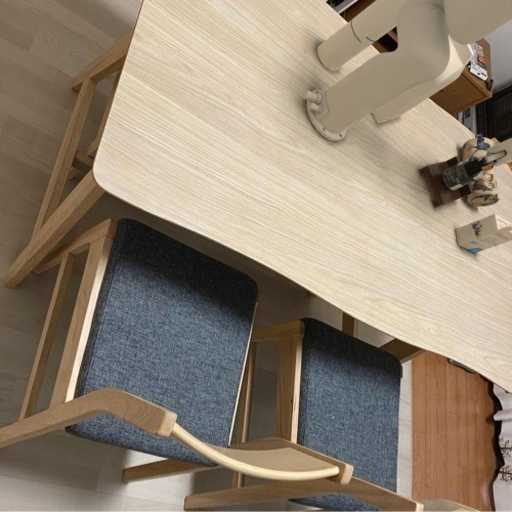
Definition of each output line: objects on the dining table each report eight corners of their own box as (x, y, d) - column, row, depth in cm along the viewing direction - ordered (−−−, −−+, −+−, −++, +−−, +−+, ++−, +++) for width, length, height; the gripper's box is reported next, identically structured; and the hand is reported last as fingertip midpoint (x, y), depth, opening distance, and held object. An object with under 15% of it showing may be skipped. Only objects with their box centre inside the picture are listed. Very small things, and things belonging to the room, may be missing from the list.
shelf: (434, 208, 151) (454, 199, 146) (418, 170, 151) (437, 160, 147) (454, 201, 159) (473, 192, 155) (438, 164, 160) (457, 155, 156)
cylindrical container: (338, 75, 140) (424, 14, 123) (317, 62, 136) (403, -4, 119) (337, 53, 143) (420, -11, 126) (316, 39, 139) (400, -28, 122)
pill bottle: (455, 194, 152) (495, 177, 144) (442, 183, 149) (481, 165, 141) (455, 177, 155) (493, 159, 147) (441, 166, 152) (480, 147, 144)
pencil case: (455, 142, 171) (485, 127, 164) (471, 155, 176) (501, 141, 169) (461, 204, 161) (493, 190, 154) (478, 215, 166) (510, 203, 159)
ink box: (472, 237, 159) (523, 218, 149) (475, 253, 157) (526, 235, 147) (454, 228, 154) (506, 208, 144) (457, 245, 152) (509, 226, 142)
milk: (398, 117, 154) (487, 64, 135) (377, 123, 145) (469, 68, 127) (379, 76, 154) (465, 18, 135) (357, 81, 145) (446, 19, 127)
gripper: (546, 121, 141) (479, 152, 154) (521, 125, 129) (451, 159, 141) (558, 148, 140) (490, 178, 153) (535, 156, 128) (463, 187, 141)
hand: (472, 169), depth 147 cm, fingers closed on pill bottle, 6 cm apart
